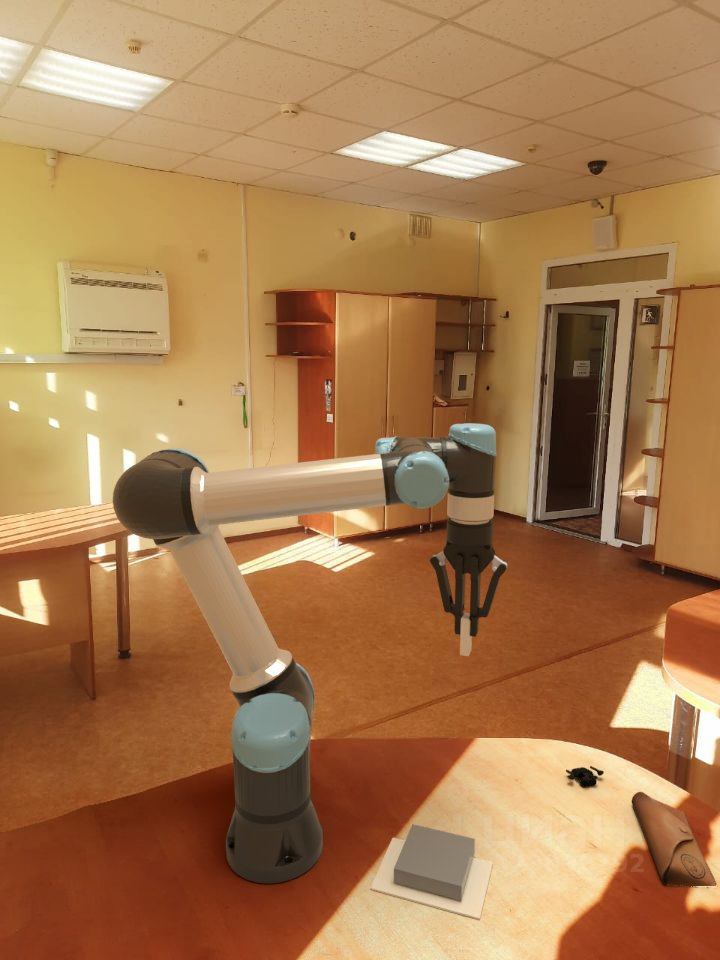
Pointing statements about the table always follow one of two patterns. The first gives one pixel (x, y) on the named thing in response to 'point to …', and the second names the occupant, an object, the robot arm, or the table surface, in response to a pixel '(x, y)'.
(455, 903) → the felt mat
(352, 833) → the table surface
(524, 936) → the table surface
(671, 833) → the sunglasses case
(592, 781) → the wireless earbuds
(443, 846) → the slate tile
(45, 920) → the table surface
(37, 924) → the table surface
